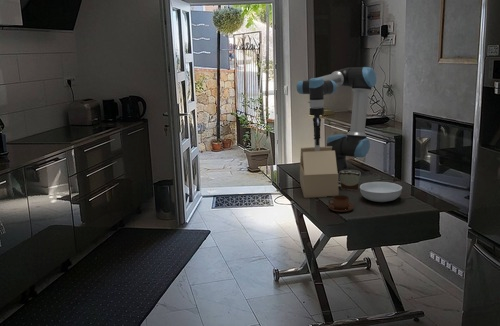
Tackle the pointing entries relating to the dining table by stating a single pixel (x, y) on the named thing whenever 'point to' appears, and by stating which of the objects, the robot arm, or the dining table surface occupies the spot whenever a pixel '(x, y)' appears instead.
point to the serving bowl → (380, 191)
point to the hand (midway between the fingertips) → (317, 150)
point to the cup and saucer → (340, 204)
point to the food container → (349, 179)
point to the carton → (318, 184)
